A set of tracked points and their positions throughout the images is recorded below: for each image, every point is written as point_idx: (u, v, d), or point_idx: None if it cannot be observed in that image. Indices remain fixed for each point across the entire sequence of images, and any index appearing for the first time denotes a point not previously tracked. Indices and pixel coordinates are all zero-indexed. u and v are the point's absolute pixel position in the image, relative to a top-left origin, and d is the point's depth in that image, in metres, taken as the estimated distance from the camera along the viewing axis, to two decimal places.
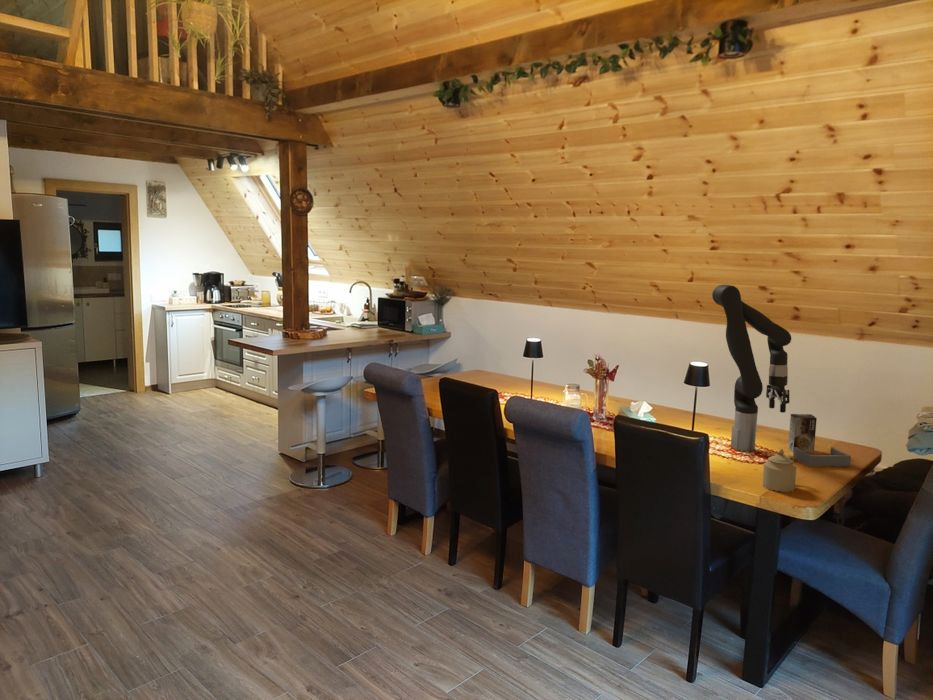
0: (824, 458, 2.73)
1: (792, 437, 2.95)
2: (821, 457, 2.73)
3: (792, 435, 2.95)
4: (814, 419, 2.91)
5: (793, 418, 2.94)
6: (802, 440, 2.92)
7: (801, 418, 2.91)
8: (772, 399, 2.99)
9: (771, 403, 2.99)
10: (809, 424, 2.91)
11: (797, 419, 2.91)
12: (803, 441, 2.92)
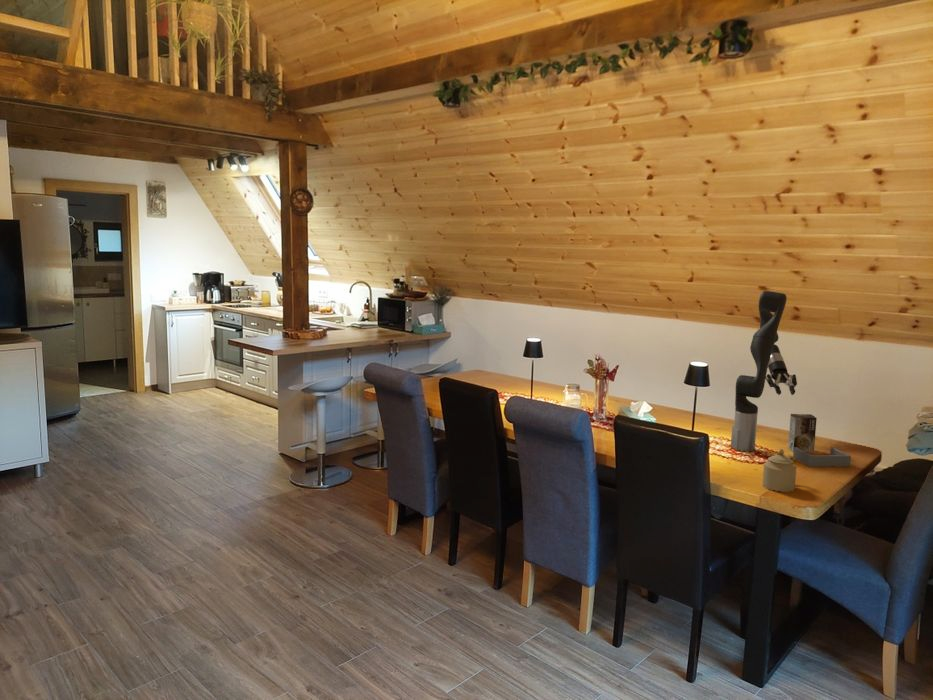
0: (824, 458, 2.73)
1: (792, 437, 2.95)
2: (821, 457, 2.73)
3: (792, 435, 2.95)
4: (814, 419, 2.91)
5: (793, 418, 2.94)
6: (802, 440, 2.92)
7: (801, 418, 2.91)
8: None
9: None
10: (809, 424, 2.91)
11: (797, 419, 2.91)
12: (803, 441, 2.92)
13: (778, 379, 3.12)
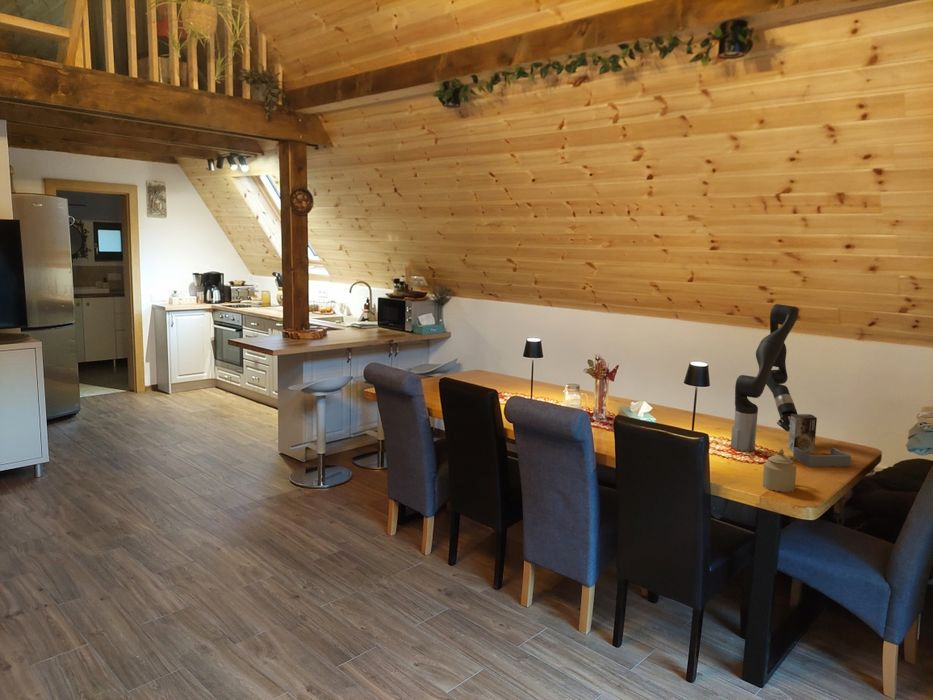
0: (824, 458, 2.73)
1: (792, 437, 2.94)
2: (821, 457, 2.73)
3: (792, 435, 2.95)
4: (814, 419, 2.90)
5: (793, 418, 2.94)
6: (802, 441, 2.92)
7: (801, 418, 2.91)
8: None
9: None
10: (809, 424, 2.91)
11: (797, 419, 2.91)
12: (804, 441, 2.92)
13: None
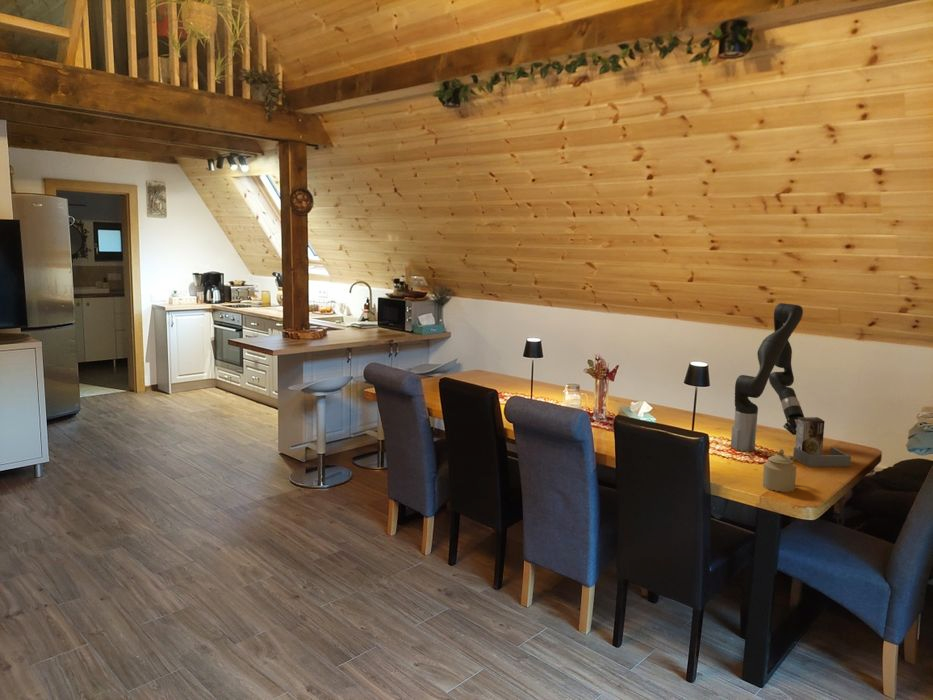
0: (824, 458, 2.73)
1: (800, 441, 2.88)
2: (821, 457, 2.73)
3: (799, 439, 2.89)
4: (822, 422, 2.85)
5: (801, 421, 2.88)
6: (810, 444, 2.87)
7: (809, 421, 2.85)
8: None
9: None
10: (817, 428, 2.85)
11: (805, 423, 2.85)
12: (811, 444, 2.87)
13: None
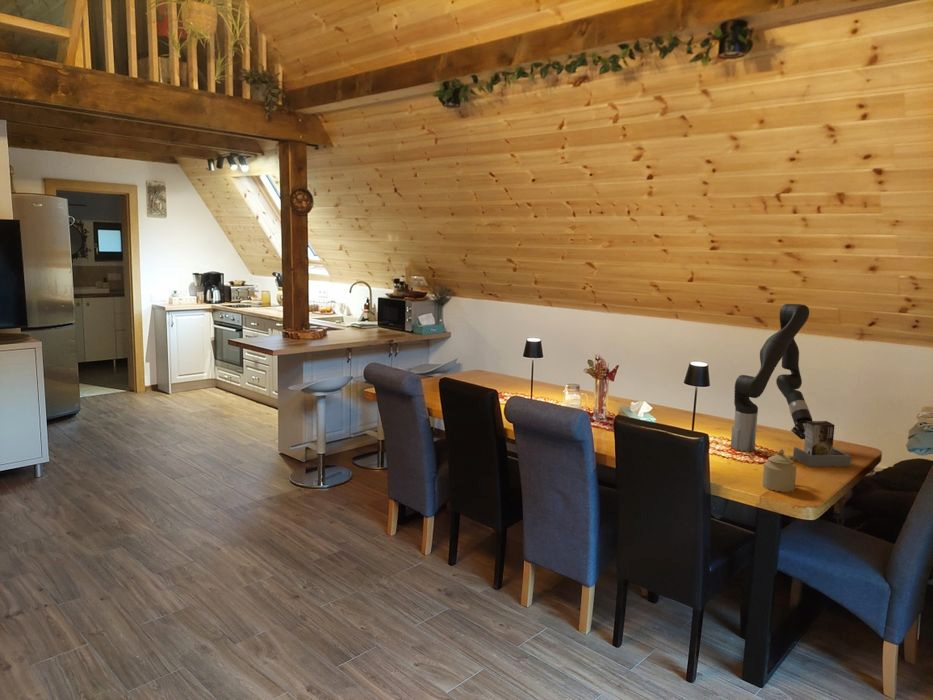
0: (824, 458, 2.73)
1: (809, 446, 2.82)
2: (821, 457, 2.73)
3: (809, 444, 2.82)
4: (832, 426, 2.79)
5: (810, 426, 2.81)
6: (820, 449, 2.80)
7: (819, 426, 2.78)
8: None
9: None
10: (827, 432, 2.79)
11: (815, 427, 2.78)
12: (821, 449, 2.80)
13: None
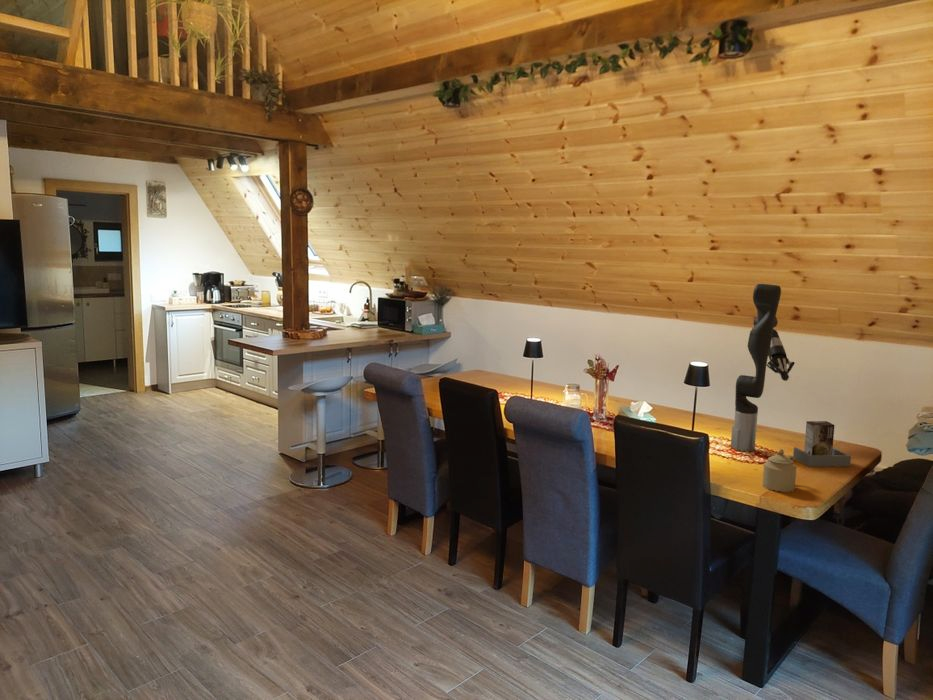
0: (824, 458, 2.73)
1: (809, 446, 2.81)
2: (821, 457, 2.73)
3: (809, 444, 2.82)
4: (832, 426, 2.79)
5: (810, 426, 2.81)
6: (820, 449, 2.80)
7: (819, 426, 2.78)
8: None
9: None
10: (827, 432, 2.79)
11: (815, 427, 2.78)
12: (821, 449, 2.80)
13: (780, 364, 3.06)
